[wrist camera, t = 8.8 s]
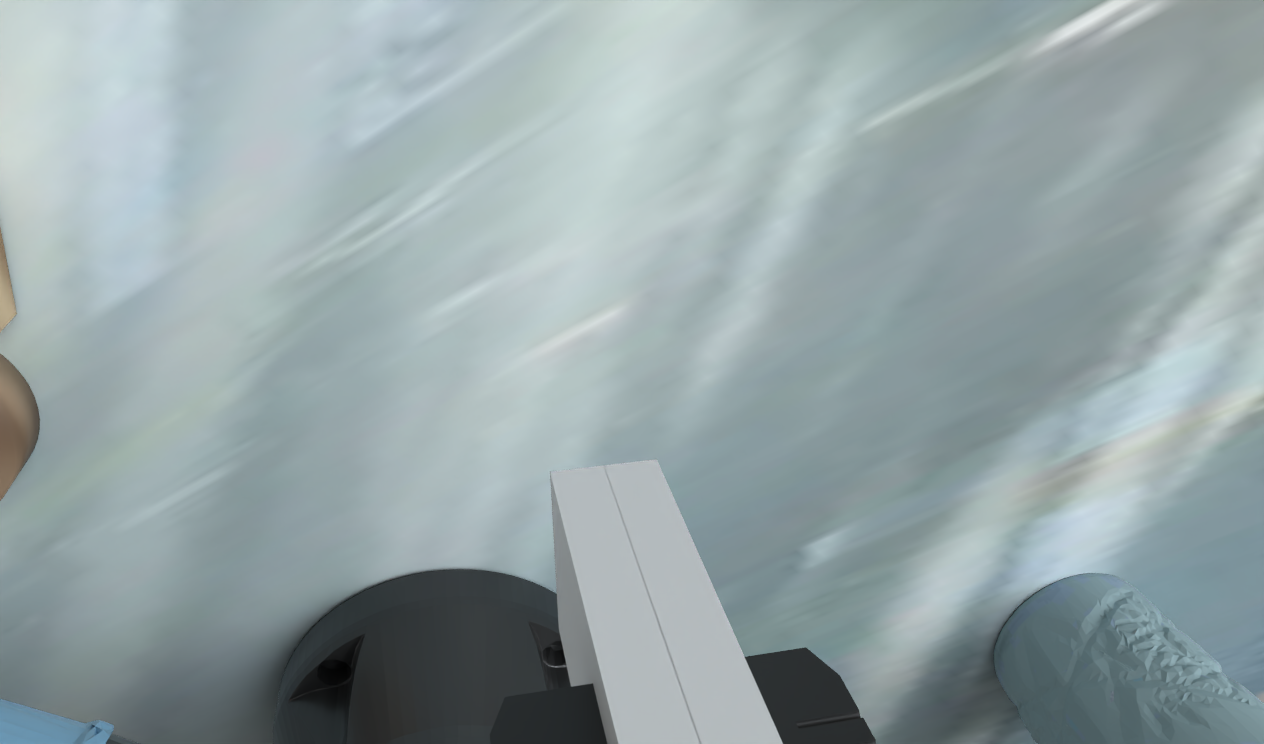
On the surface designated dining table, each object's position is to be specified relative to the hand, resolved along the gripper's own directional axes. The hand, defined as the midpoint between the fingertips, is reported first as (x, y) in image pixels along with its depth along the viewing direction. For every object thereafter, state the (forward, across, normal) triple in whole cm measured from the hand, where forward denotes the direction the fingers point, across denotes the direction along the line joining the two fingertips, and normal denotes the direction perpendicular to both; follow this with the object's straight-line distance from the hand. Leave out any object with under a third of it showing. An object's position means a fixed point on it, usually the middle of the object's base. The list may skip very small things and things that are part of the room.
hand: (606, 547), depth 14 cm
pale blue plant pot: (+25, -28, +28) cm, 47 cm away
